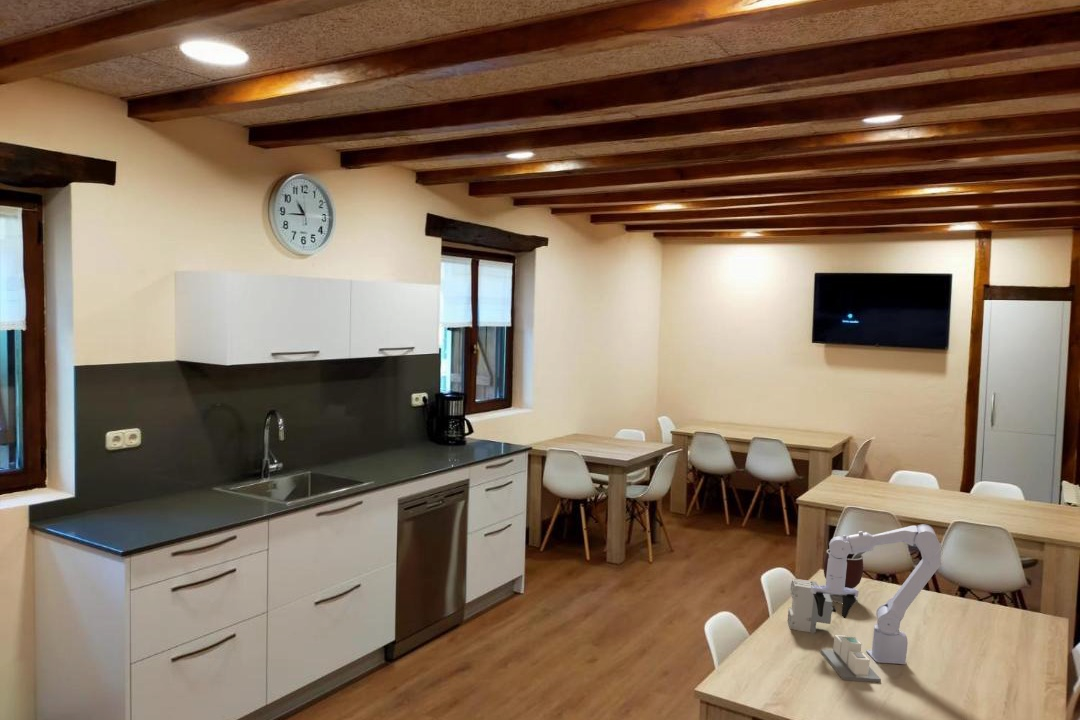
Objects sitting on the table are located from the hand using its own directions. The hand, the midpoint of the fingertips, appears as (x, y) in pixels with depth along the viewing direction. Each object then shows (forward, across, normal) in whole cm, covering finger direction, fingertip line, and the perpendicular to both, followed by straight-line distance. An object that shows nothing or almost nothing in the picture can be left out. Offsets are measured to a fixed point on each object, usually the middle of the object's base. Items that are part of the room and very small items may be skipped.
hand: (831, 616), depth 248 cm
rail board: (+10, -1, +14) cm, 17 cm away
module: (+8, -1, +14) cm, 16 cm away
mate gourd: (+10, -22, -45) cm, 51 cm away
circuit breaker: (+10, +1, -14) cm, 17 cm away
